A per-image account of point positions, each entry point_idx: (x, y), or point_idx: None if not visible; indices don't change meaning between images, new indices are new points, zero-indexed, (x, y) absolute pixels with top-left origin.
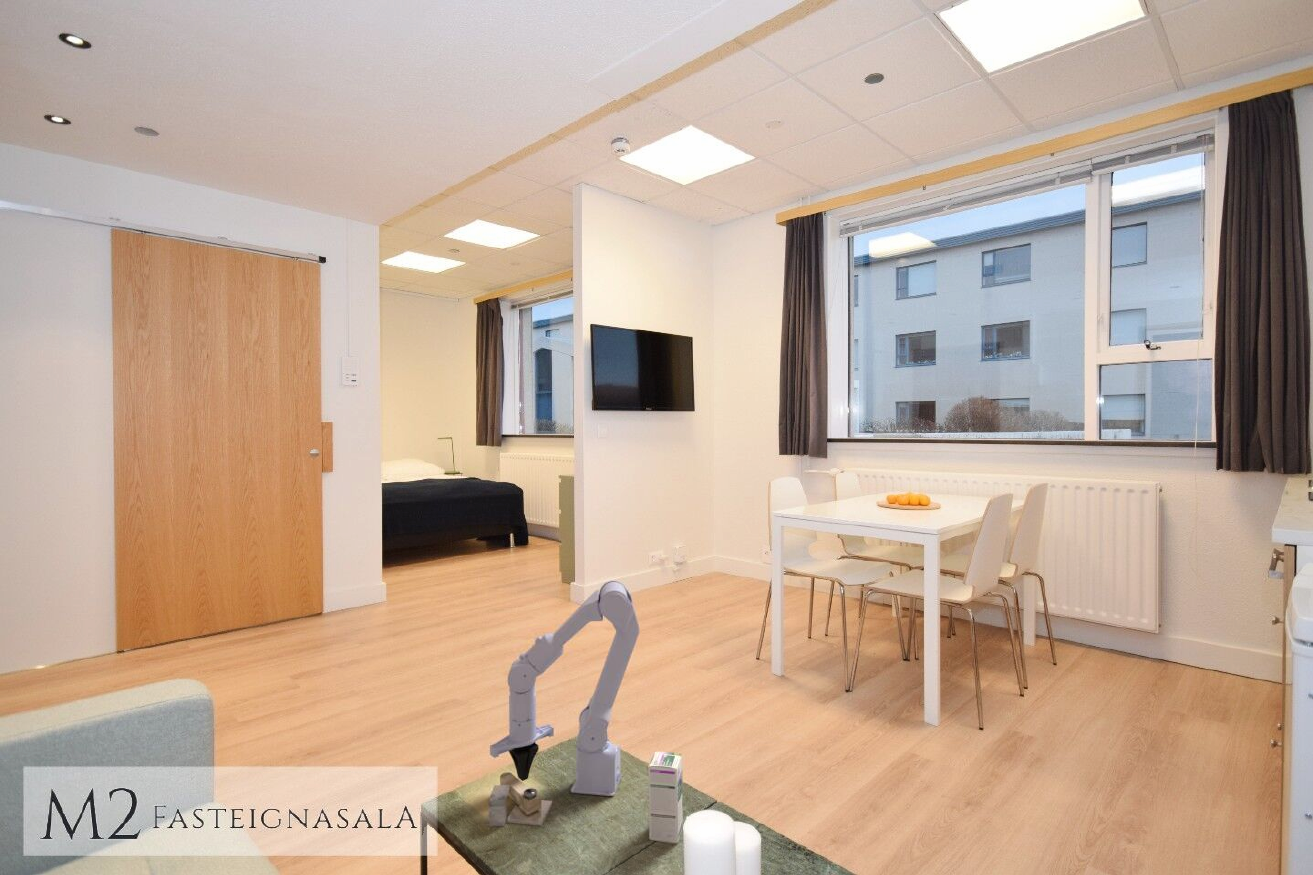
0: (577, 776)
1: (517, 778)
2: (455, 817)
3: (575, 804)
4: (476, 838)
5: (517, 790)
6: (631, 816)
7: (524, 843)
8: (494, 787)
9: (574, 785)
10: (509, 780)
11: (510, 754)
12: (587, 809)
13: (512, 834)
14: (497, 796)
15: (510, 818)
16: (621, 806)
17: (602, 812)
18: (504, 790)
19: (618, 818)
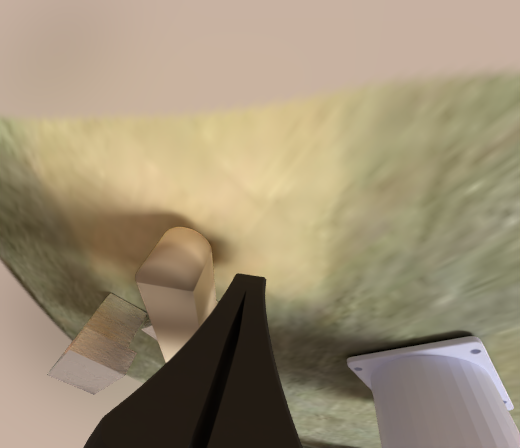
0: (386, 401)
1: (199, 324)
2: (6, 221)
3: (314, 375)
4: (68, 308)
5: (168, 357)
6: (355, 431)
7: (157, 364)
8: (69, 355)
9: (376, 360)
10: (164, 314)
11: (149, 380)
12: (318, 392)
13: (144, 343)
14: (75, 378)
15: (148, 333)
16: (373, 420)
17: (330, 407)
18: (102, 377)
19: (335, 423)
